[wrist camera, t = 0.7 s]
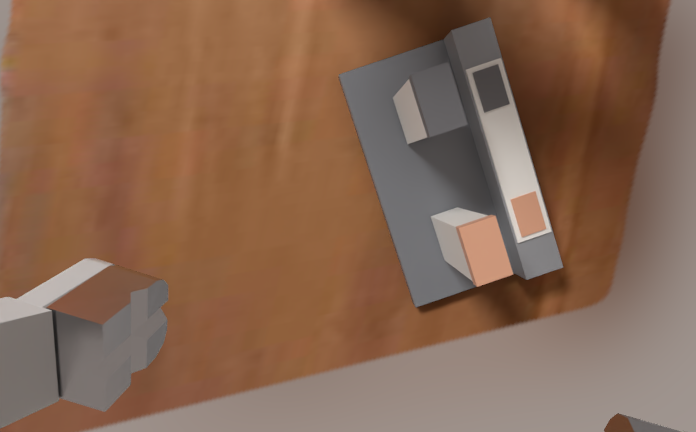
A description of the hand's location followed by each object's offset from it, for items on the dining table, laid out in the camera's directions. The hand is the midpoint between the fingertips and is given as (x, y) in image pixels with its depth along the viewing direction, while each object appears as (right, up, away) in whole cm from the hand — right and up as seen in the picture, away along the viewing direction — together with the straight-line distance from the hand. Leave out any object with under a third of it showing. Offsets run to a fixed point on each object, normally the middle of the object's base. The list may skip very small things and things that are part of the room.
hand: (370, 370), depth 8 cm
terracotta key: (+11, +1, +41) cm, 42 cm away
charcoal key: (+6, +13, +39) cm, 42 cm away
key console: (+10, +8, +42) cm, 44 cm away
